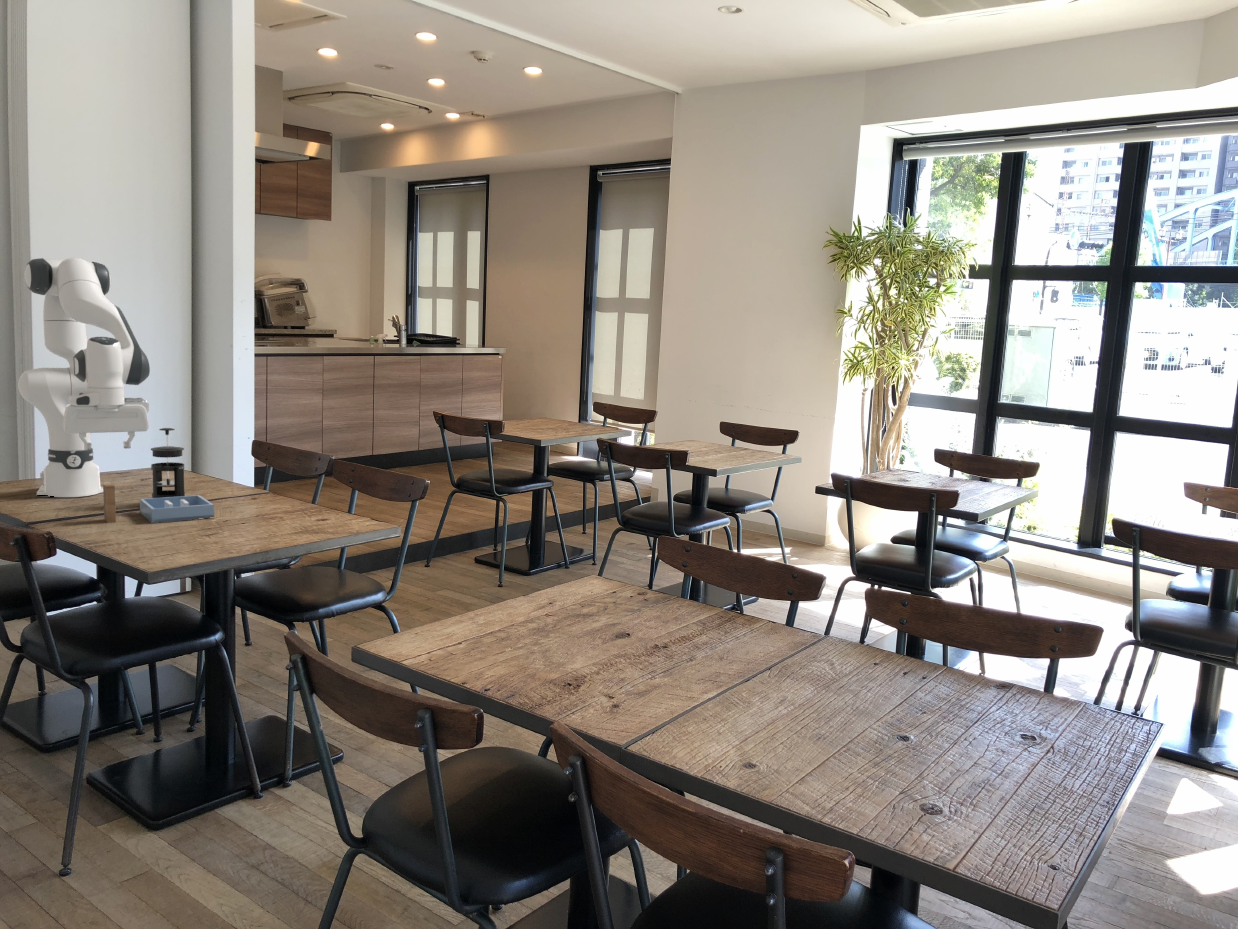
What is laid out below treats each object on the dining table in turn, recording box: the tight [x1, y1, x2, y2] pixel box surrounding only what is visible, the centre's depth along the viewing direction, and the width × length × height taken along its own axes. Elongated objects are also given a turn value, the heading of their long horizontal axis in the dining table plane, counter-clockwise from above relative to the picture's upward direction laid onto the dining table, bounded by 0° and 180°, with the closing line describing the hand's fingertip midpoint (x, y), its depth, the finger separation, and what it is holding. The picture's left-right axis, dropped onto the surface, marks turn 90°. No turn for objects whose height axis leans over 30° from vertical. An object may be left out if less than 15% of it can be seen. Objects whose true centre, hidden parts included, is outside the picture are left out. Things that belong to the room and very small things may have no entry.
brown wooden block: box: [102, 482, 117, 524], centre depth 253 cm, size 5×2×10 cm, turn 38°
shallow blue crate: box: [139, 494, 215, 524], centre depth 263 cm, size 16×16×4 cm
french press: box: [150, 427, 186, 498], centre depth 277 cm, size 12×9×23 cm
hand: (107, 448), depth 250 cm, fingers open, 8 cm apart
